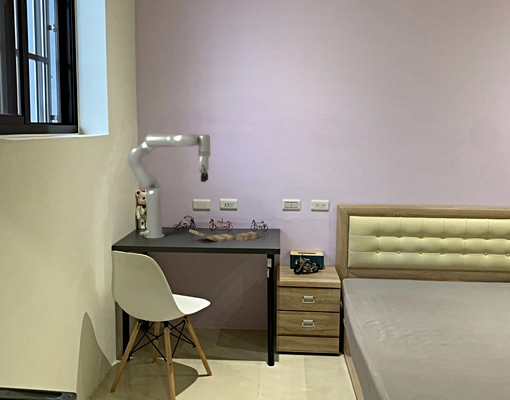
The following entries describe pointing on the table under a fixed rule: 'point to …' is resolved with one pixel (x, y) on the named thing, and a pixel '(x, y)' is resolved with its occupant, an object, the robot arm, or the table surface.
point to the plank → (202, 235)
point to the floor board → (223, 237)
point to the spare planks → (247, 236)
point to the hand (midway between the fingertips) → (204, 181)
